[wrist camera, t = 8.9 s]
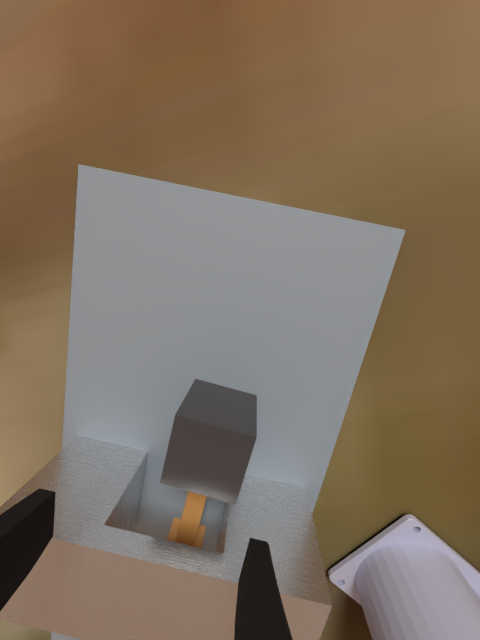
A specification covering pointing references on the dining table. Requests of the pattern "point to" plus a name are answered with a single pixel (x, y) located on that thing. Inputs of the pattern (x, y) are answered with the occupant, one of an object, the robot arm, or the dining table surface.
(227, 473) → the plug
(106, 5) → the dining table surface
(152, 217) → the board
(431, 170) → the dining table surface
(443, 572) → the robot arm
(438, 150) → the dining table surface
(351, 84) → the dining table surface
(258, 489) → the grey arch block
